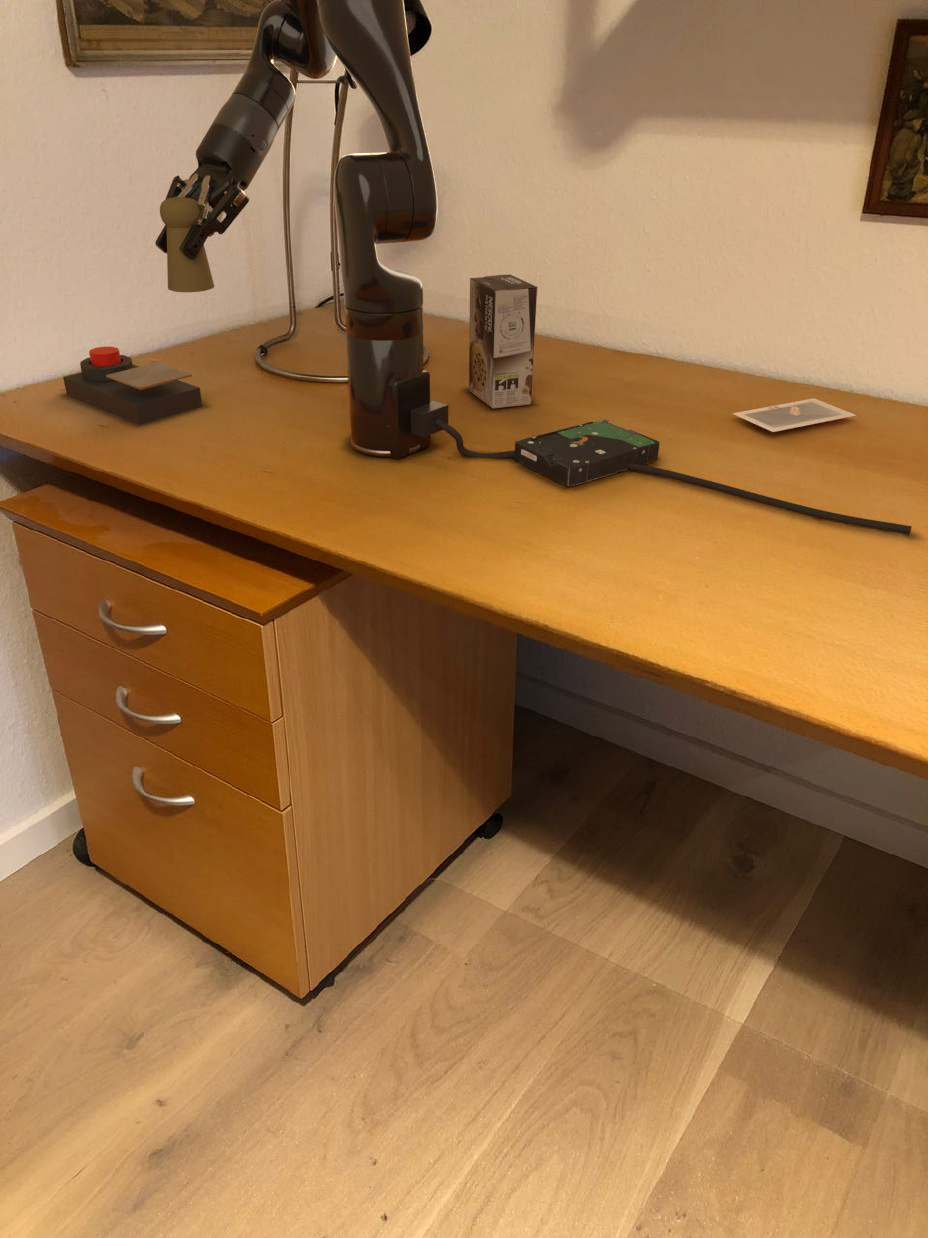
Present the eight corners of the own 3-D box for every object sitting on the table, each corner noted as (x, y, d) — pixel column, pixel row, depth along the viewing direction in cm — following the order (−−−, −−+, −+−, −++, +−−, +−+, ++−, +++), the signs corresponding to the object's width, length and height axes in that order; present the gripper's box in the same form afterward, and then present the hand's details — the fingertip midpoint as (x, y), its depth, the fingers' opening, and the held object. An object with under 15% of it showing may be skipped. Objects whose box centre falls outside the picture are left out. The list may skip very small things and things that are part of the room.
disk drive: (569, 491, 108) (659, 461, 116) (570, 468, 107) (661, 439, 114) (512, 462, 115) (600, 436, 123) (512, 440, 114) (602, 415, 121)
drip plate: (191, 376, 128) (191, 373, 128) (140, 389, 122) (140, 387, 122) (157, 364, 132) (157, 362, 132) (106, 377, 127) (105, 374, 127)
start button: (127, 363, 133) (124, 349, 132) (101, 369, 131) (99, 355, 130) (111, 358, 136) (108, 344, 135) (86, 364, 133) (83, 350, 132)
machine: (202, 406, 131) (198, 374, 128) (139, 425, 124) (133, 391, 122) (128, 379, 140) (123, 349, 138) (66, 395, 134) (60, 363, 132)
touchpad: (854, 422, 129) (858, 407, 127) (771, 439, 123) (774, 423, 122) (812, 405, 135) (815, 390, 133) (730, 421, 129) (733, 405, 127)
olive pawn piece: (220, 282, 128) (209, 194, 123) (205, 293, 123) (193, 201, 117) (177, 281, 129) (164, 193, 123) (160, 291, 124) (146, 200, 118)
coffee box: (533, 404, 133) (539, 286, 125) (491, 409, 131) (494, 289, 123) (507, 385, 140) (511, 272, 132) (466, 390, 138) (468, 275, 130)
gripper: (185, 117, 125) (120, 226, 123) (254, 123, 117) (186, 240, 115) (223, 159, 131) (162, 263, 129) (290, 167, 123) (227, 278, 121)
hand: (174, 251), depth 122 cm, fingers closed on olive pawn piece, 4 cm apart
